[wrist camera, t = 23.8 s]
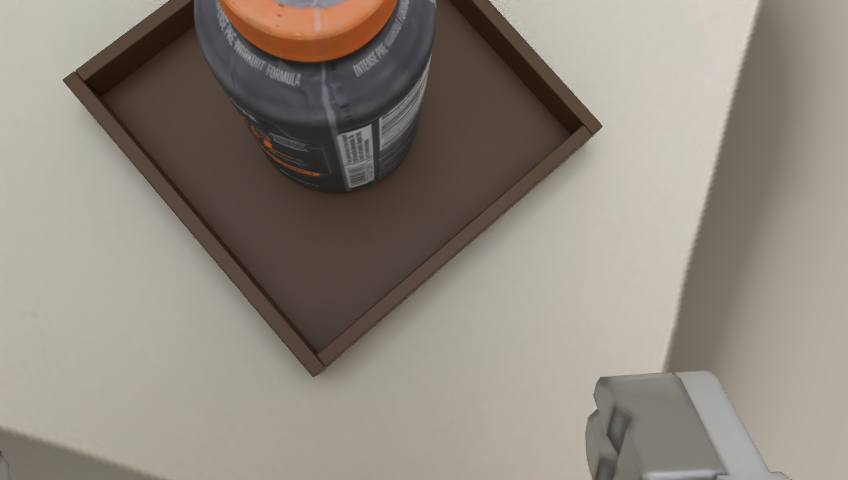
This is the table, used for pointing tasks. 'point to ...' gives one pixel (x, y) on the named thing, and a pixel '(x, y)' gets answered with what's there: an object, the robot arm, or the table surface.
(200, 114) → the tray
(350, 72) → the pill bottle
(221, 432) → the table surface
